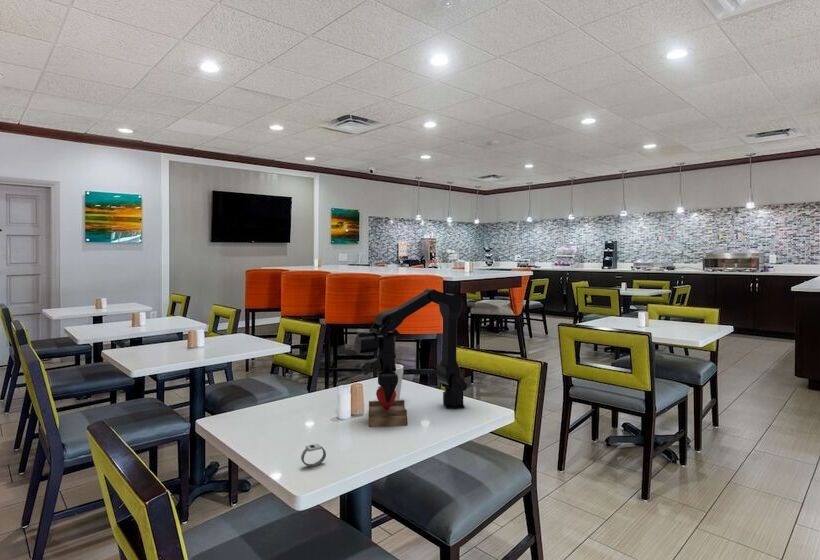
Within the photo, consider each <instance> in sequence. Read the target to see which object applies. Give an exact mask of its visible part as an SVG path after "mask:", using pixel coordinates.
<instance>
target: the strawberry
mask: <svg viewBox="0 0 820 560" xmlns="http://www.w3.org/2000/svg"><path fill="white" fill-rule="evenodd" d="M375 394H376V395H375V396H376V398H377V401H379V402H380V404H381V405H382V406H383V407H384V409H385V410H389V408H390V407H391V405H392V404H393V402H394V401H395V397H396V392H395V390H394V392H393V395H392V397H391V400H390V402H389V403H387V402H386V400H385V395H384V390H383V387H382V386H380V385H379V386H378V387H377V389H376V393H375Z"/></svg>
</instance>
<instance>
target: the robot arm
mask: <svg viewBox="0 0 820 560" xmlns="http://www.w3.org/2000/svg"><path fill="white" fill-rule="evenodd" d="M431 303H434V304H437V305H438V307H439V312H440V314H441V317H442V325H443V326H442V359H441V361H440V363H439V364H438V363H436V364H435V365H436V367H435V369H436V373H435V376H437V380H438V382H440V383H441V386H442V388H444V391H442V403H443V405H444V407H445V408H446V409H464V408H465V404H464V391H467V387H468V384H467V382H466V381H465V380H463V379H462V376H461V375H462V374H461V369H460V366H459V363H458V362H457V342H458V341H457V340H458V339H457V336H458V334H457V333H458V332H457V331H458V318H459V317H460V315H461V313H462V308H463V299H462V297H461V296H460V295H458V294H455V293H445V292H441V291H438V290H436V289H434V288H426V289H425V290H423V291H422V292H421V293H419V294H417V295H415V296H414V297H411V299H408V300H406V301H405V302H403V303H402V304H400V305H398V306H397V307H393V308H390V309H386V310H383V311H381V312H378V313H377V314H376V315H375V321H374V323H373V324H372V326H371V327H370V328H369V330H368V331H365V332H363V331H359V332H358V331H357V332H356V336H355V338H354V342H353V343H354V344H353V346H354V351H355V353H356V354H357V355H362V354H371V353H376V352H377V353H376V357H375V358H371V359H369V360H366V361H364V362H362V363H360V368H361V371H362V374H363V375H364V376H367V375H369V374H370V373H373V372H375V371H376V372H377V384H378V385H379V387H380V386H382V387H383V390H384V395H385V400H386V402H387V403H389V402H390V400H391V397H392V395H393V392H394V390H395V388H396V385H397V383H398V375H397V373H396V372H395V371H396V364H397V363H396V359H397V354H396V338H399V337H402V334H401V333H400V332H399V331H398V330H397V328H398V327H399V326H401V324H403V322H404V321H405V320H406V319H407V318H408V317H410V316H411V315H412V314H414V313H416V312H418V311H420V310H421V309H422V308H424V307H426V306H427V305H429V304H431Z"/></svg>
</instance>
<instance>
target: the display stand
mask: <svg viewBox="0 0 820 560" xmlns="http://www.w3.org/2000/svg"><path fill="white" fill-rule="evenodd" d="M401 426H403V427H404V426H405V427H406V426H408V410H407V409H406V407H405V400H404V399H400V400H395V401H394V402H393V404H392V405H391V407H390V408H389V410H385V409H384V407H383V406H382V405H381V404H380V402H379V401H378V400H369V401H368V427H369V428H374V427H375V428H377V427H379V428H380V427H401Z"/></svg>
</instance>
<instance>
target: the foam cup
mask: <svg viewBox="0 0 820 560" xmlns="http://www.w3.org/2000/svg"><path fill="white" fill-rule="evenodd" d="M395 372H396V373H397V375H398V383H397V385H396V388H395V392H396V397H395V400H401V391H402V383H403V374H404V365H402V364H398V363H396V371H395Z"/></svg>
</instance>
